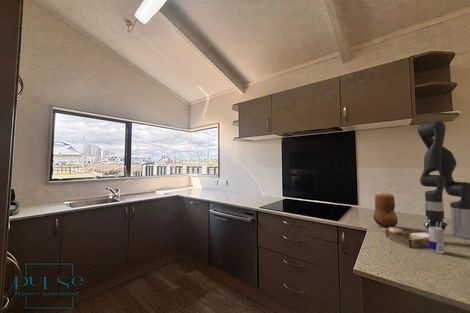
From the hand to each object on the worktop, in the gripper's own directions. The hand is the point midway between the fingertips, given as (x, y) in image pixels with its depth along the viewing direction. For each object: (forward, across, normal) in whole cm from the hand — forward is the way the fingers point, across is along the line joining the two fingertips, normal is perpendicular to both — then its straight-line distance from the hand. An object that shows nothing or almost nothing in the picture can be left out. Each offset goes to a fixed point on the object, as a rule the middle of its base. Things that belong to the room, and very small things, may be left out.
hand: (436, 239), depth 111 cm
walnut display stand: (+1, +17, 0) cm, 17 cm away
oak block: (+1, +20, -13) cm, 24 cm away
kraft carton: (+1, +7, 0) cm, 8 cm away
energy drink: (+1, +14, +12) cm, 19 cm away
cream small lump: (+1, +13, -12) cm, 18 cm away
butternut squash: (+1, +7, -26) cm, 27 cm away
